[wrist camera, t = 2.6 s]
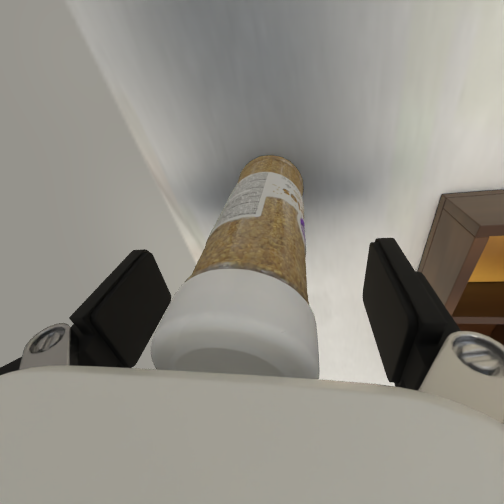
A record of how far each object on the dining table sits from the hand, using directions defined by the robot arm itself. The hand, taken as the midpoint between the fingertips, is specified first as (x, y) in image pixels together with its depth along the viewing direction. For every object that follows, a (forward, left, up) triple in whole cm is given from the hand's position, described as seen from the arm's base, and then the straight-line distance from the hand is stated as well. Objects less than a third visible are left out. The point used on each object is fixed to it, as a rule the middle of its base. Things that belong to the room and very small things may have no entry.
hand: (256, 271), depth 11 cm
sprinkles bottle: (-1, 0, -9) cm, 9 cm away
